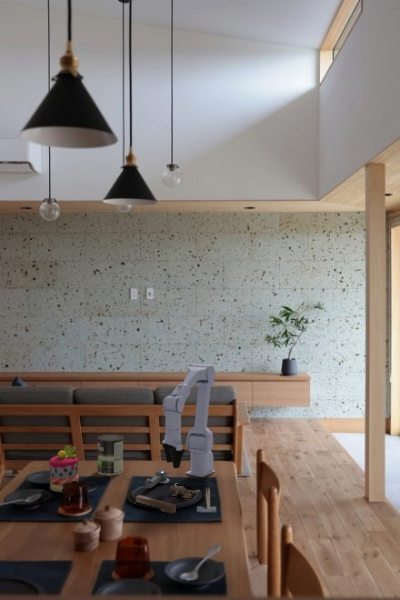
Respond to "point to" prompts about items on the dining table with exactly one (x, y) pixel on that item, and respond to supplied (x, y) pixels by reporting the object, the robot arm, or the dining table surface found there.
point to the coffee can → (110, 454)
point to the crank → (155, 478)
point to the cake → (63, 468)
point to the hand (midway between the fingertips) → (173, 465)
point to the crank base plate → (164, 481)
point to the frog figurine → (182, 491)
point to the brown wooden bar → (157, 504)
